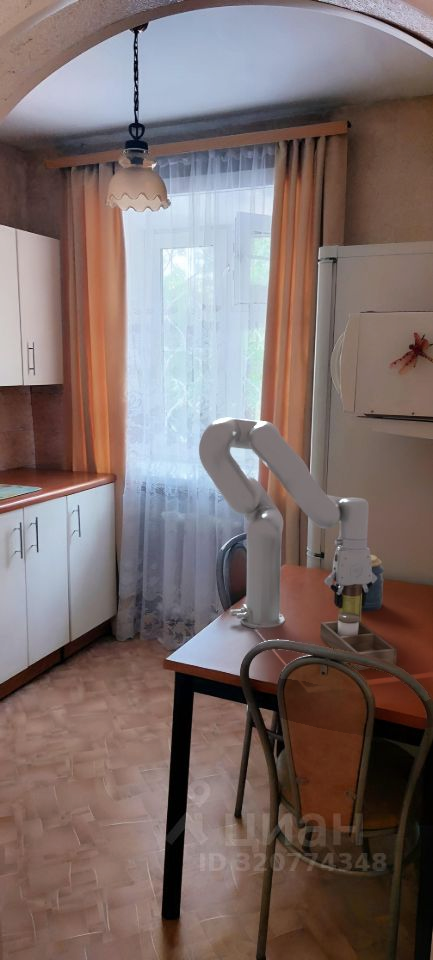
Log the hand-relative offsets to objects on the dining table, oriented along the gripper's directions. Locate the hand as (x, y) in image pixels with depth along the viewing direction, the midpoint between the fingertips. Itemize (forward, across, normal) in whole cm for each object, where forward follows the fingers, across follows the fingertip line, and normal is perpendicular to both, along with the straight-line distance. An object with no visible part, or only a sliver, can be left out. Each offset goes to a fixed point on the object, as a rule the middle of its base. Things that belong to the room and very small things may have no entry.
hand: (349, 605), depth 184 cm
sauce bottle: (+7, 0, 0) cm, 7 cm away
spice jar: (+6, -6, -11) cm, 14 cm away
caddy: (+7, -6, -16) cm, 18 cm away
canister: (+7, +12, +16) cm, 21 cm away
